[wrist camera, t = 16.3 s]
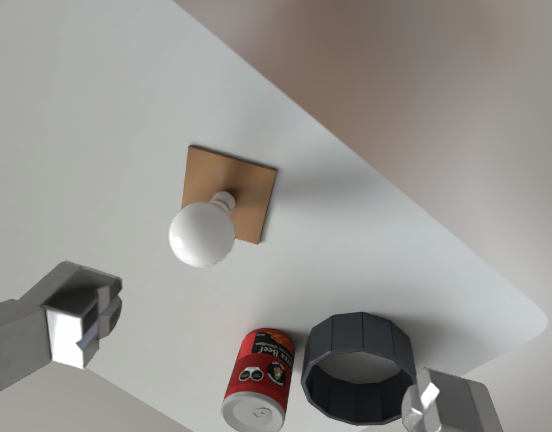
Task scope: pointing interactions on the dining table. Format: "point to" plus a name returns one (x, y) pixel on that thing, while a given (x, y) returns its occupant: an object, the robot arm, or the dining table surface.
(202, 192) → the coaster
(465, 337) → the dining table surface
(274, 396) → the canned food
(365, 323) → the dark grey polygonal container
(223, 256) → the lightbulb
